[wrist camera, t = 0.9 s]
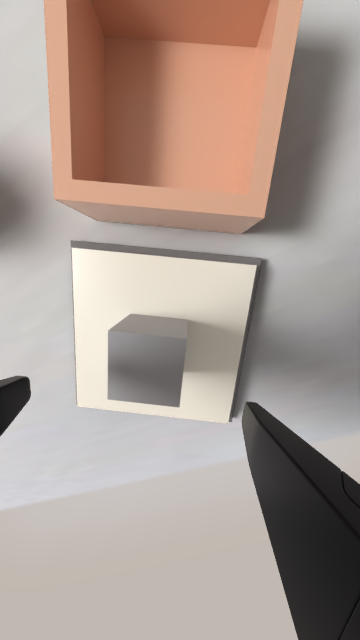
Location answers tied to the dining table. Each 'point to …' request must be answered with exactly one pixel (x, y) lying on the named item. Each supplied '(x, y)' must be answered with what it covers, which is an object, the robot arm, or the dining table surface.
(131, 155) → the dish
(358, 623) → the robot arm
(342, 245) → the dining table surface
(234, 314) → the lid
